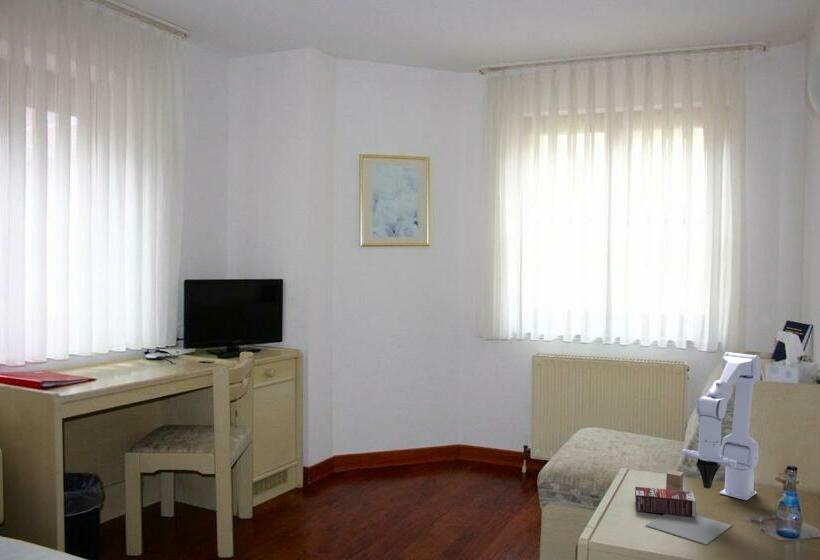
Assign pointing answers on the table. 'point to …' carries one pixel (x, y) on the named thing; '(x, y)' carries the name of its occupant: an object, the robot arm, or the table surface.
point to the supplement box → (665, 501)
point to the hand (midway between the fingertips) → (707, 487)
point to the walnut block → (674, 480)
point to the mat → (690, 527)
